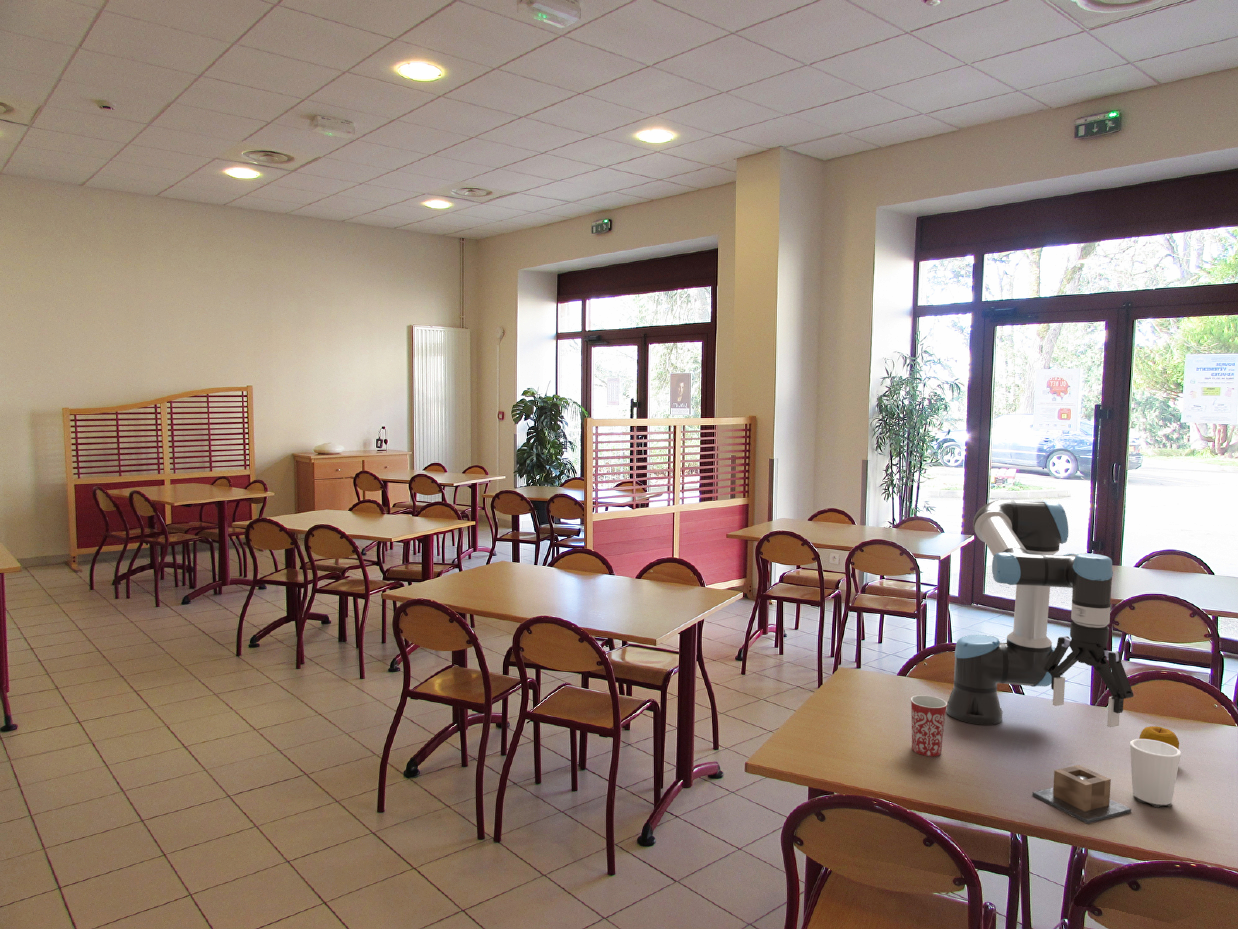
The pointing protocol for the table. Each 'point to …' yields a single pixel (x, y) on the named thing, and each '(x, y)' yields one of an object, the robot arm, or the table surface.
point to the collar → (1081, 787)
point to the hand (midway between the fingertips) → (1084, 715)
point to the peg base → (1085, 816)
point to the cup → (1154, 771)
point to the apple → (1160, 735)
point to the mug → (927, 724)
